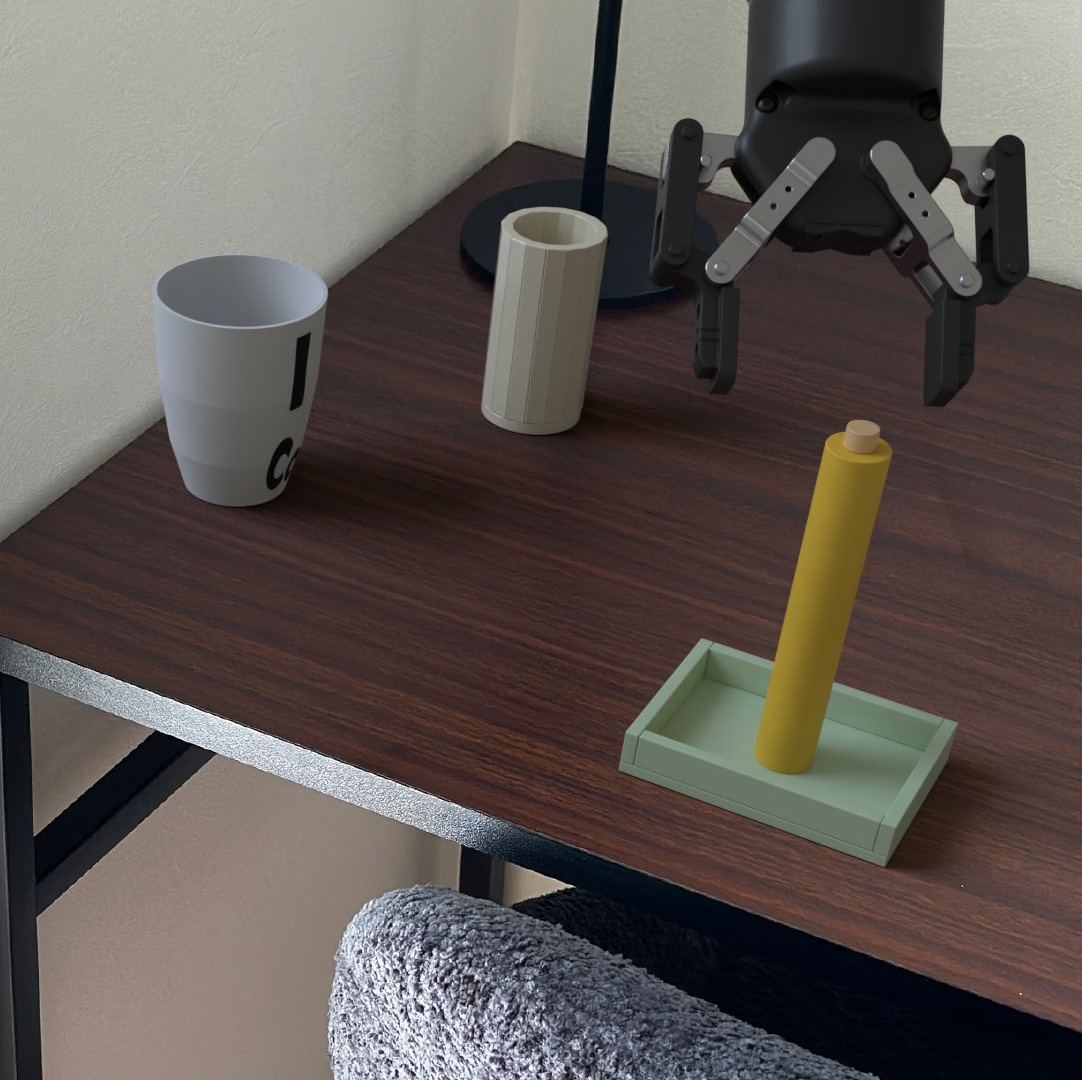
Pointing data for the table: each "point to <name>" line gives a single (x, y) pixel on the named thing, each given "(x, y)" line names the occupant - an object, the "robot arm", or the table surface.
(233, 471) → the cup
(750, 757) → the tray
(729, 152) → the robot arm
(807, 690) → the pencil
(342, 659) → the table surface
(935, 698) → the table surface
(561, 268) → the pencil holder
